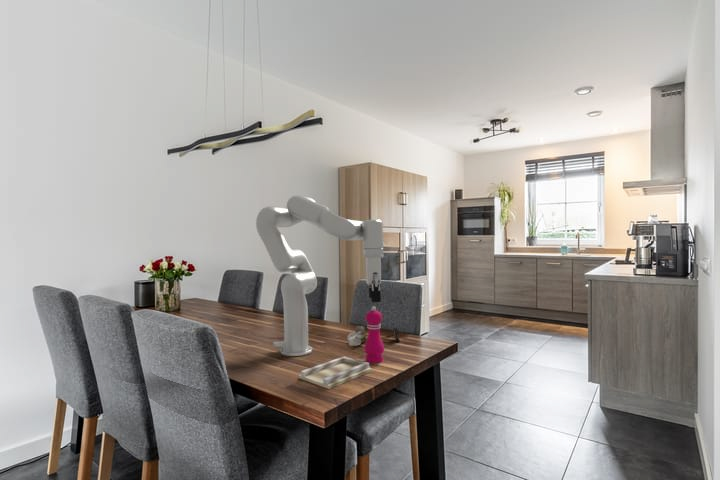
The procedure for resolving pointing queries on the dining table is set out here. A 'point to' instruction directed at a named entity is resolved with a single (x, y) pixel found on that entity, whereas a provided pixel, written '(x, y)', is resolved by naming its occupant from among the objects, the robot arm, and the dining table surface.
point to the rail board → (335, 372)
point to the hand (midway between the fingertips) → (374, 299)
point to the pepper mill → (374, 337)
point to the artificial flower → (364, 336)
